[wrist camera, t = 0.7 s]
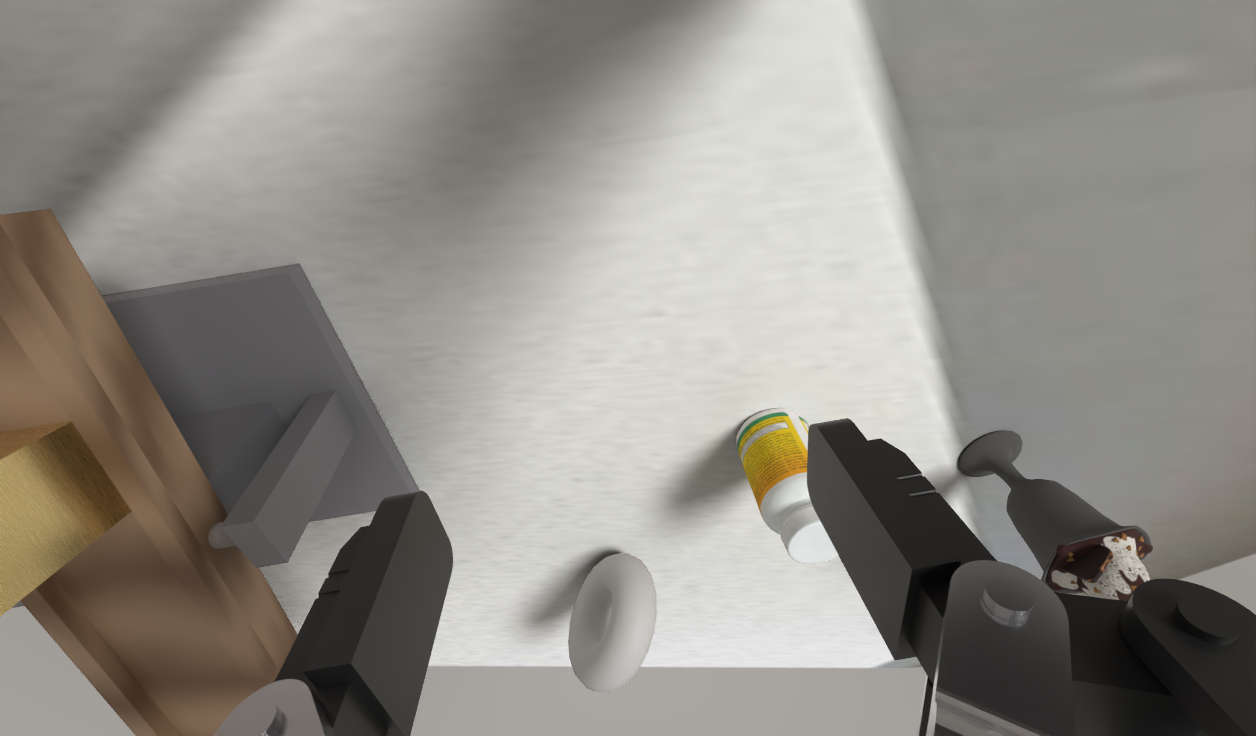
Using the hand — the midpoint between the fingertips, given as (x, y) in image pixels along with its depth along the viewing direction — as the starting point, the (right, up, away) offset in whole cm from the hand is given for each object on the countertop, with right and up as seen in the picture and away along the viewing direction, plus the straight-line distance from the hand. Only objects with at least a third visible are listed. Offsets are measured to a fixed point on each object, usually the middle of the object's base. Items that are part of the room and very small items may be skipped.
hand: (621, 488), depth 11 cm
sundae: (+29, -4, +31) cm, 43 cm away
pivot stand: (-24, -1, +22) cm, 33 cm away
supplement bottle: (+11, -2, +27) cm, 29 cm away
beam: (-23, -6, +14) cm, 28 cm away
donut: (-2, -14, +34) cm, 37 cm away
